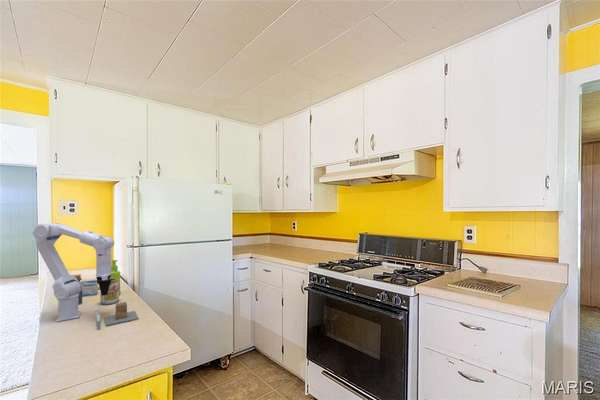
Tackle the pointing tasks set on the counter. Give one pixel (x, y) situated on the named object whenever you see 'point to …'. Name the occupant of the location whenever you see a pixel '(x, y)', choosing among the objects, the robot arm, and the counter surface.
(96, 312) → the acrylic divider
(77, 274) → the bottle
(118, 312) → the walnut block
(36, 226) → the robot arm
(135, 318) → the resting mat
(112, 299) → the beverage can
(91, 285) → the medicine box
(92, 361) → the counter surface
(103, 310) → the counter surface
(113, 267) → the soap dispenser
